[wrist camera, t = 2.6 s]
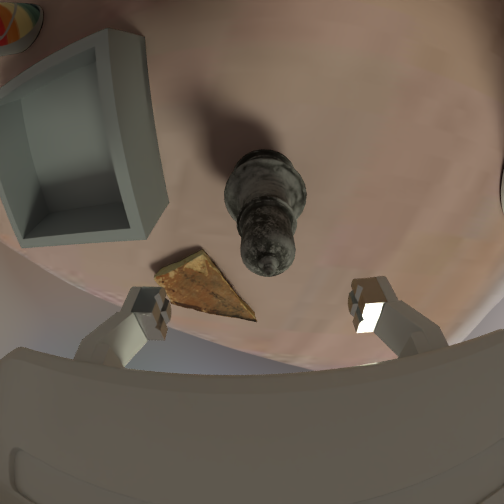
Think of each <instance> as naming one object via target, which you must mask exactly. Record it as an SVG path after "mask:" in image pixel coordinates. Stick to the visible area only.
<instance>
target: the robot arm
mask: <svg viewBox="0 0 504 504" xmlns="http://www.w3.org/2000/svg"><path fill="white" fill-rule="evenodd" d="M501 203H502V209H503V213H504V171H503V177H502V185H501ZM351 287H352V291H351V292H350V293H349V297H348V308H349V312H350V314H351V315H352V316H353V317H354V319H353V324H354V327H355V331H356V333H363V332H373V331H374V333H375V334H376V335H377V336H378V337H379V338H380V339H381V340H382V341H383V342H384V343H385V344H386V345H387V346H388V347H389V348H390V349H391V350H392V351H393V352H394V353H395V354H396V355H397V356H398V358H397V359H393V360H388V361H383V362H377V363H371V364H365V365H359V366H352V367H345V368H338V369H330V370H321V371H311V372H299V373H287V374H266V375H198V374H178V373H165V372H153V371H143V370H135V369H127V368H125V365H126V364H127V363H128V362H129V361H130V360H131V359H132V358H133V357H134V355H135V354H136V353H137V352H138V351H139V350H140V349H141V348H142V347H143V346H144V344H145V343H146V342H147V340H165V337H166V333H167V330H168V328H167V326H166V324H167V323H168V322H170V319H171V305H170V302H169V300H167V299H166V298H165V297H166V294H167V293H166V291H165V288H163V287H132V288H131V289H130V291H129V293H128V295H127V298H126V300H125V302H124V304H123V306H122V309H121V311H120V312H117V313H115V314H114V315H113V316H112V317H110V318H109V319H108V320H106V321H105V322H104V323H103V324H101V325H100V326H99V327H97V328H96V329H95V330H94V331H92V332H91V333H90V334H89V335H87V336H86V337H85V338H84V339H82V341H81V343H80V345H79V348H78V350H77V352H76V354H75V357H74V359H73V360H72V359H68V358H63V357H58V356H55V355H50V354H46V353H42V352H38V351H34V350H31V349H28V348H24V347H18V348H16V349H14V350H13V351H11V352H10V353H8V354H7V355H6V356H4V357H3V358H2V359H1V360H0V504H504V329H499V330H496V331H493V332H491V333H488V334H485V335H482V336H480V337H477V338H474V339H471V340H468V341H464V342H461V343H458V344H454V345H451V346H449V345H448V343H447V341H446V339H445V337H444V335H443V333H442V331H441V329H440V327H439V326H438V325H436V324H435V323H434V322H432V321H431V320H429V319H428V318H426V317H425V316H423V315H422V314H421V313H419V312H418V311H416V310H415V309H413V308H412V307H410V306H409V305H407V304H406V303H404V302H403V301H402V300H401V301H399V300H398V298H397V296H396V294H395V293H394V291H393V289H392V287H391V285H390V283H389V281H388V279H387V278H386V277H385V276H378V277H370V278H358V279H353V281H352V284H351Z"/></svg>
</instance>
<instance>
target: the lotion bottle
mask: <svg viewBox="0 0 504 504" xmlns="http://www.w3.org/2000/svg"><path fill="white" fill-rule="evenodd" d="M42 22H43V11H42V9H41V7H40V6H38V5H35V4H28V3H0V56H5V55H11V54H16V53H20V52H22V51H24V50H26V49H27V48H28V47H29V46H30V45H31V44H32V43H33V41H34V40H35V39H36V37H37V35H38V33H39V31H40V29H41V26H42Z"/></svg>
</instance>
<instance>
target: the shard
mask: <svg viewBox="0 0 504 504" xmlns="http://www.w3.org/2000/svg"><path fill="white" fill-rule="evenodd" d="M154 280H155V281H156V282H157V284H159V285H160V287H163V288H165V291H166V293H167V296H168V297H169V299H170V300H171V301H170V302H171V304H175V305H177V306H181V307H184V308H192V309H194V310H197V311H201V312H206V313H209V314H215V315H220V316H226V317H233V318H240V319H245V320H248V321H254V322H257V320H256V317H255V313H254V311H253V310H251V308H250V307H249V306H248V305H247V304H246V303H245V302H244V301H243V300H242V299H241V298H240V297H239V296H238V295H237V294H236V292H235V291H234V290H233V289H232V288H231V287H230V285H229V284H228V283H227V281H226V280H225V279H224V278H223V276H222V275H221V272H220V271H219V270H218V269H217V268H216V266H215V265H214V264H213V263H212V261H211V260H210V258H209V256H208V255H207V254H206V253H205V252H204V251H203V250H200V251H198V252H197V253H195V254H193V255H191V256H189V257H187V258H185V259H184V260H182V261H180V262H177V263H173V264H170V265H169V266H167V267H163V268H162V269H161V270H159V272H158V273H157V274H155V276H154Z"/></svg>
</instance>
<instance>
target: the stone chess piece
mask: <svg viewBox="0 0 504 504" xmlns="http://www.w3.org/2000/svg"><path fill="white" fill-rule="evenodd" d="M306 196H307V193H306V188H305V183H304V181H303V180H302V178H301V176H300V174H299V173H298V172H297V171H296V170H295V169H294V167H293V165H292V163H291V162H290V161H289V160H288V159H287V158H286V157H285V156H284V155H282V154H280V153H279V152H276V151H272V150H257V151H253V152H251V153H249V154H247V155H245V156H244V157H243V158H242V159H241V160H240V161H239V162H238V164H237V165H236V167H235V169H234V172H233V173H232V174H231V176H230V177H229V179H228V181H227V183H226V187H225V191H224V200H225V204H226V207H227V210H228V212H229V214H230V215H231V217H232V218H233V219H234V220H235V221H236V222H237V229H238V232H239V235H240V236H241V248H240V249H241V257H242V260H243V263H244V264H245V266H246V267H247V268H248V269H249V270H250V271H252V272H253V273H255V274H257V275H260V276H264V277H271V276H276V275H279V274H281V273H283V272H284V271H285V270H287V269H288V268H289V267H290V266H291V264H292V263H293V260H294V258H295V251H296V248H295V243H294V238H293V235H294V233H295V231H296V227H297V218H298V217H299V216H300V215H301V213H302V211H303V209H304V207H305V204H306Z"/></svg>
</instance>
